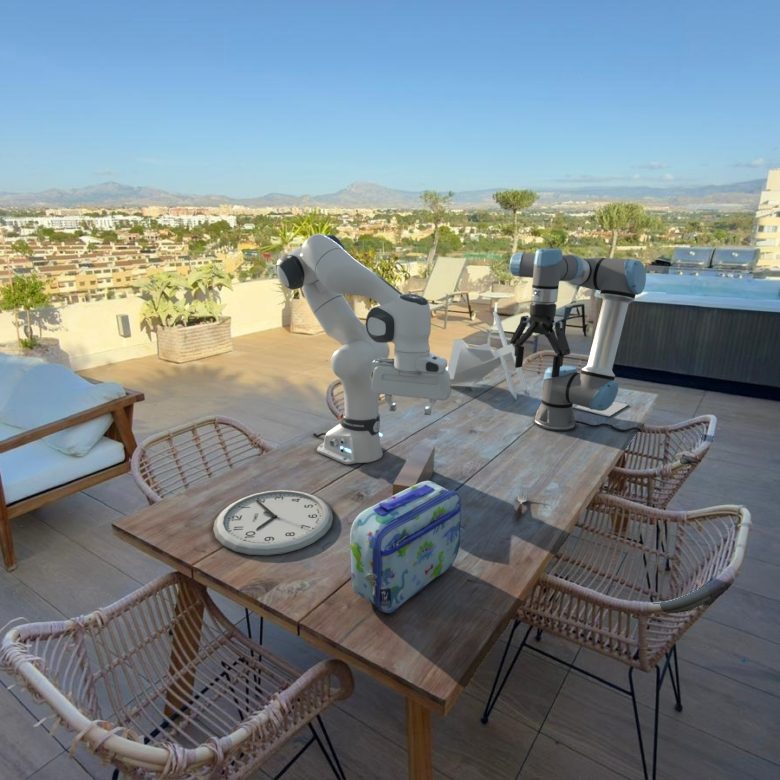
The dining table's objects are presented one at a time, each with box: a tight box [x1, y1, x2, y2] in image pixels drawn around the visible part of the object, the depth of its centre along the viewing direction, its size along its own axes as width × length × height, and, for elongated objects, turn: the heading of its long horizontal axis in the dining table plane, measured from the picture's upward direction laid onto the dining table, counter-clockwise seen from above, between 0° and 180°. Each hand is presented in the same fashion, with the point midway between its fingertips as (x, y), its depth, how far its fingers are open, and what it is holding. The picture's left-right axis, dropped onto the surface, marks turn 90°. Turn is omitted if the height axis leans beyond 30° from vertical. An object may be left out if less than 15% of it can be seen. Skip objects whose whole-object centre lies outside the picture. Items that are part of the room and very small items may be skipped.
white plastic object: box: [446, 310, 531, 400], centre depth 245 cm, size 37×45×31 cm
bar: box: [392, 443, 436, 496], centre depth 150 cm, size 28×6×8 cm, turn 164°
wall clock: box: [212, 489, 334, 556], centre depth 134 cm, size 30×2×30 cm
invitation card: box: [573, 401, 629, 418], centre depth 226 cm, size 21×1×15 cm
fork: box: [516, 487, 529, 521], centre depth 143 cm, size 3×16×2 cm, turn 160°
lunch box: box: [349, 480, 462, 614], centre depth 109 cm, size 26×11×21 cm, turn 134°
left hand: (409, 412), depth 135 cm, fingers open, 8 cm apart
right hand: (536, 371), depth 161 cm, fingers open, 13 cm apart
